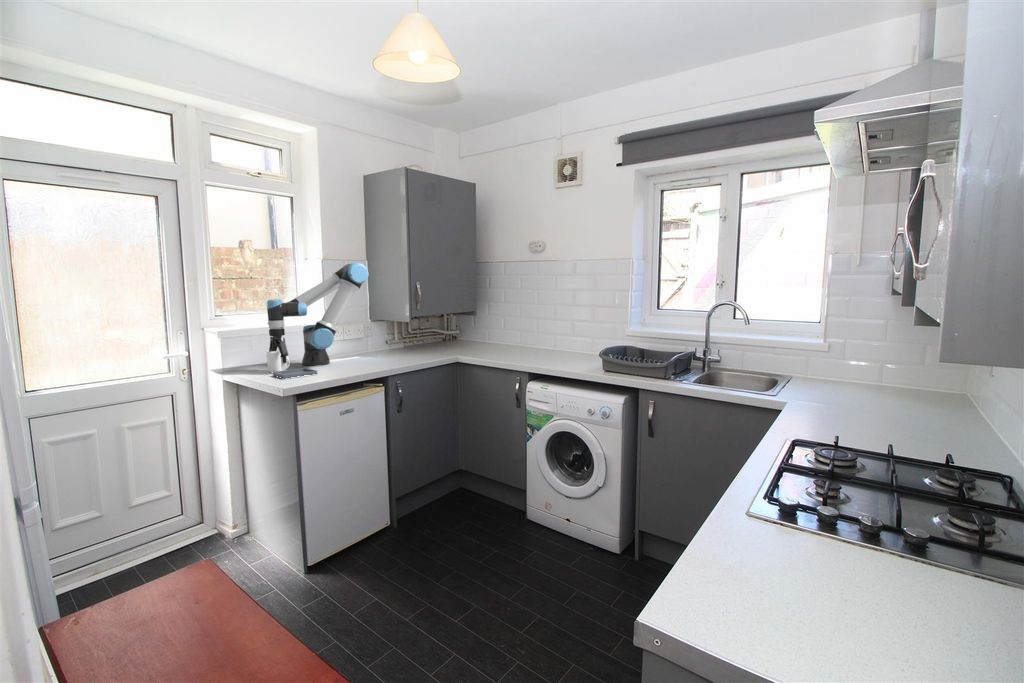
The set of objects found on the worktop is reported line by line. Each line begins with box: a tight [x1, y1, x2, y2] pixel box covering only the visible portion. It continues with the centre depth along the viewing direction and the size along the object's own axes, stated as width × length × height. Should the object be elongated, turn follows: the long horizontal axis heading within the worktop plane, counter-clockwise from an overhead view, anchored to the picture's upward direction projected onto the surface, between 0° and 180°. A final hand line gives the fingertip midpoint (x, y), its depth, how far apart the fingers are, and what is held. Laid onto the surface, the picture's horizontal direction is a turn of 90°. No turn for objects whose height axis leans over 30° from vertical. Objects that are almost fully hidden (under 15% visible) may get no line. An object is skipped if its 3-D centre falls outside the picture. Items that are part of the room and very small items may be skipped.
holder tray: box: [272, 367, 318, 380], centre depth 247 cm, size 17×15×2 cm
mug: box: [266, 350, 290, 373], centre depth 258 cm, size 9×12×11 cm
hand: (279, 367), depth 259 cm, fingers open, 13 cm apart
